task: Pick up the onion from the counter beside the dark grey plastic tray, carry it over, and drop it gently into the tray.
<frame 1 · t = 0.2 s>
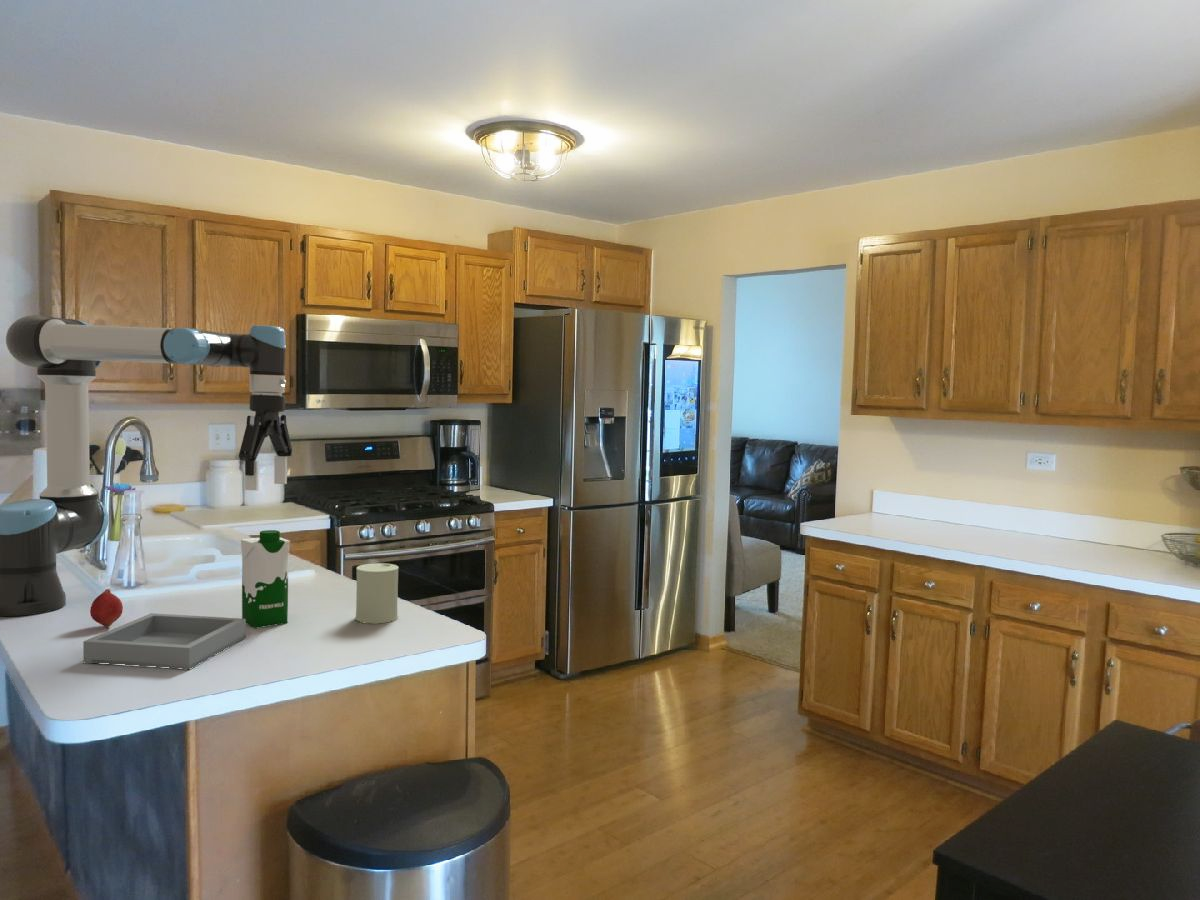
hand: (266, 487, 195), 28 cm above the countertop, tool pointing down, fingers open, 13 cm apart
milk carton: (264, 623, 183), on the countertop
onion: (106, 627, 176), on the countertop
can: (376, 619, 190), on the countertop
tray: (169, 650, 162), on the countertop
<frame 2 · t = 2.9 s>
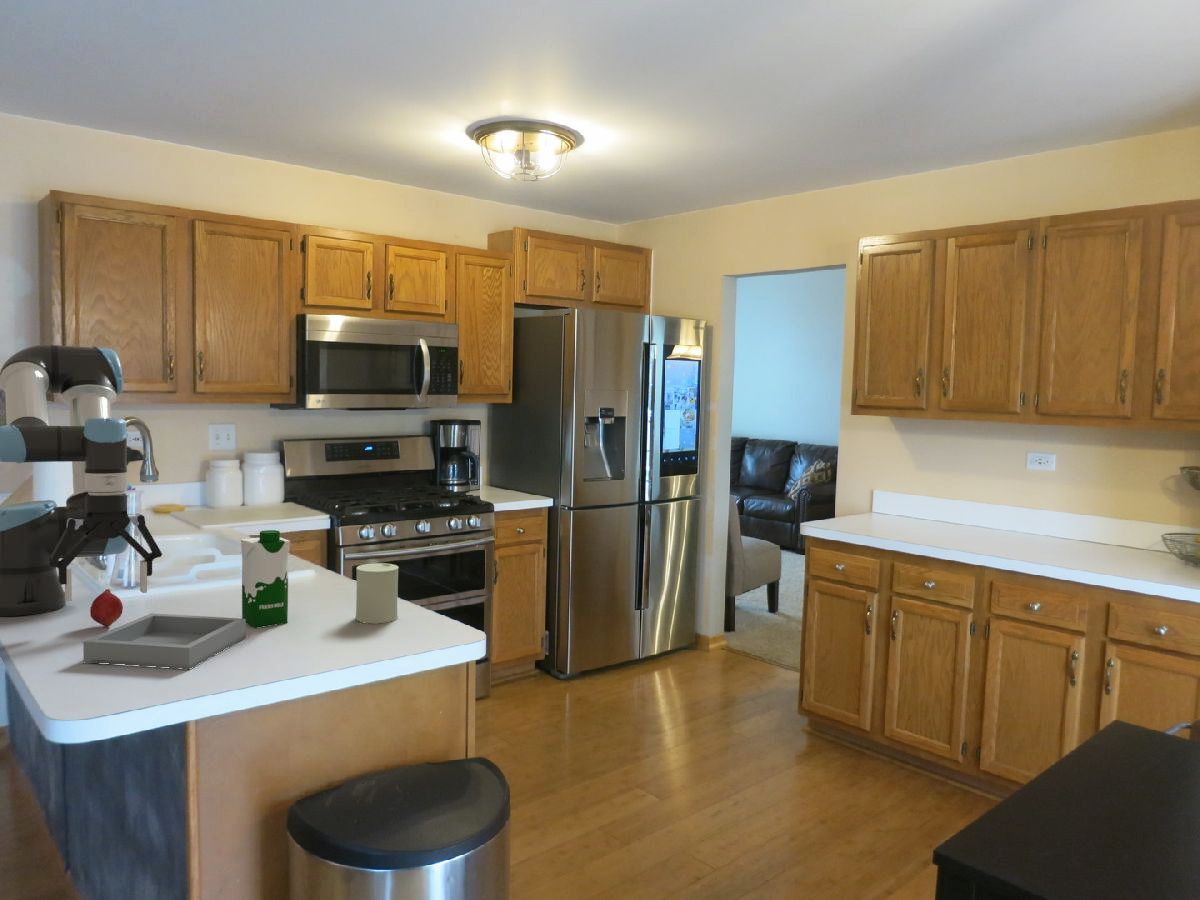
hand: (106, 595, 175), 7 cm above the countertop, tool pointing down, fingers open, 13 cm apart
nothing on the countertop moved.
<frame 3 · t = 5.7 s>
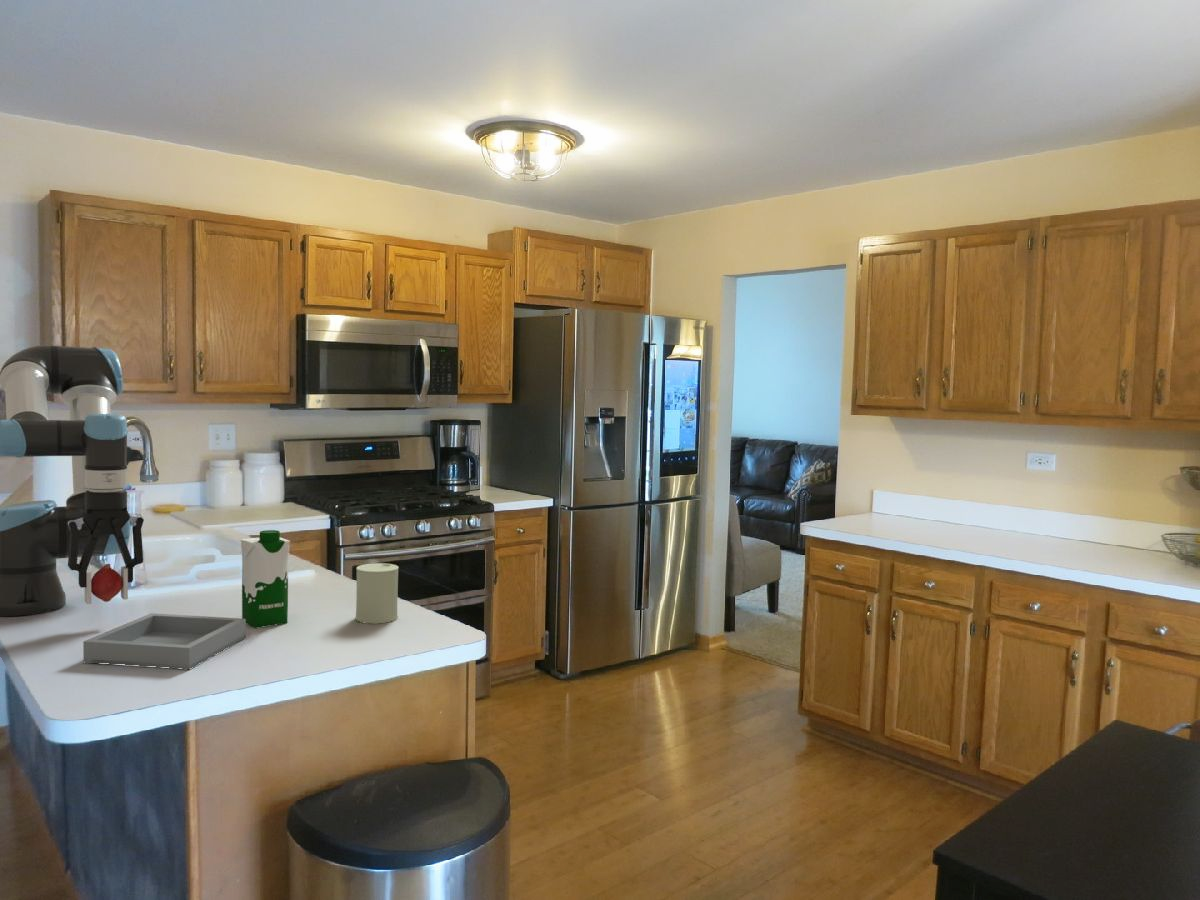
hand: (106, 599, 176), 6 cm above the countertop, tool pointing down, fingers closed on onion, 6 cm apart
onion: (106, 602, 176), point 5 cm above the countertop, touching gripper
everything else where it was.
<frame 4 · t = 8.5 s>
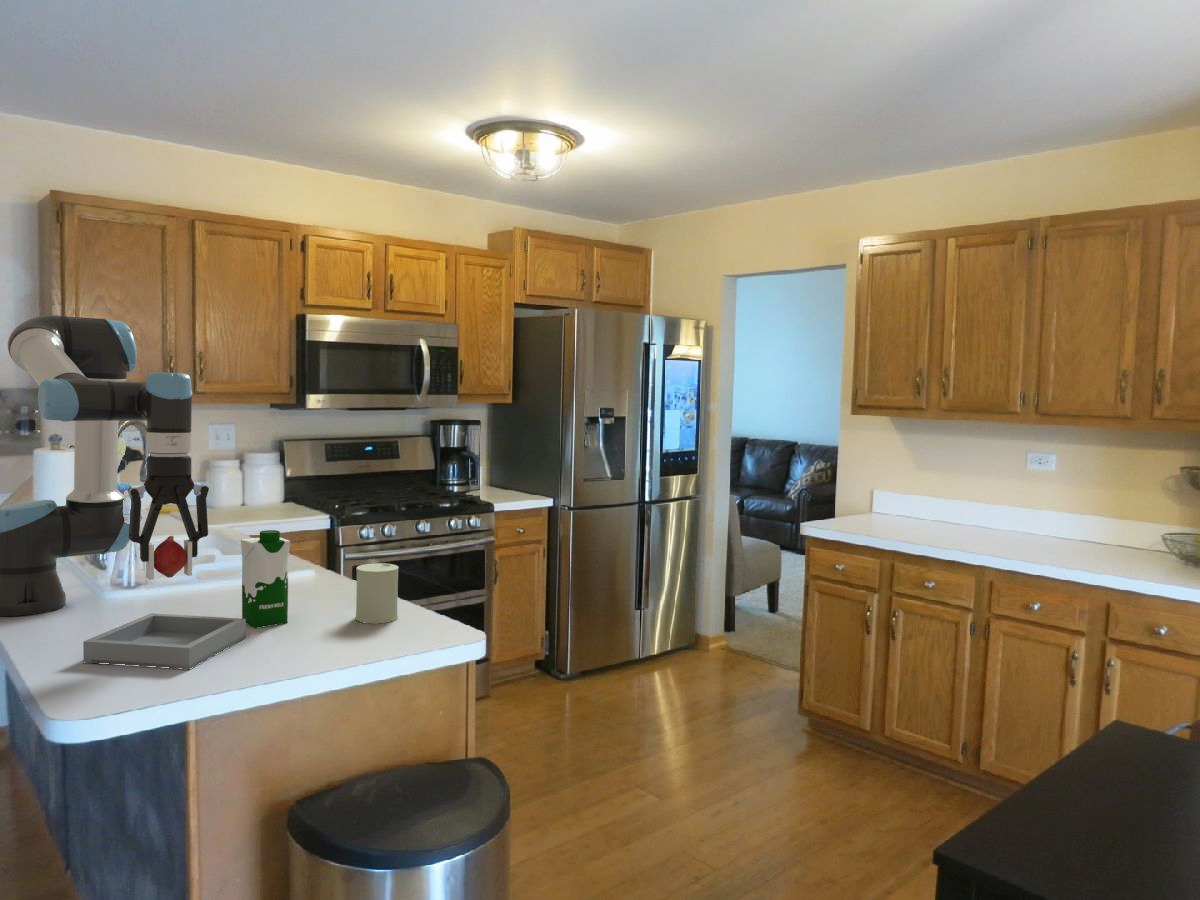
hand: (169, 576, 161), 14 cm above the countertop, tool pointing down, fingers closed on onion, 6 cm apart
onion: (169, 578, 161), point 14 cm above the countertop, touching gripper
everything else where it was.
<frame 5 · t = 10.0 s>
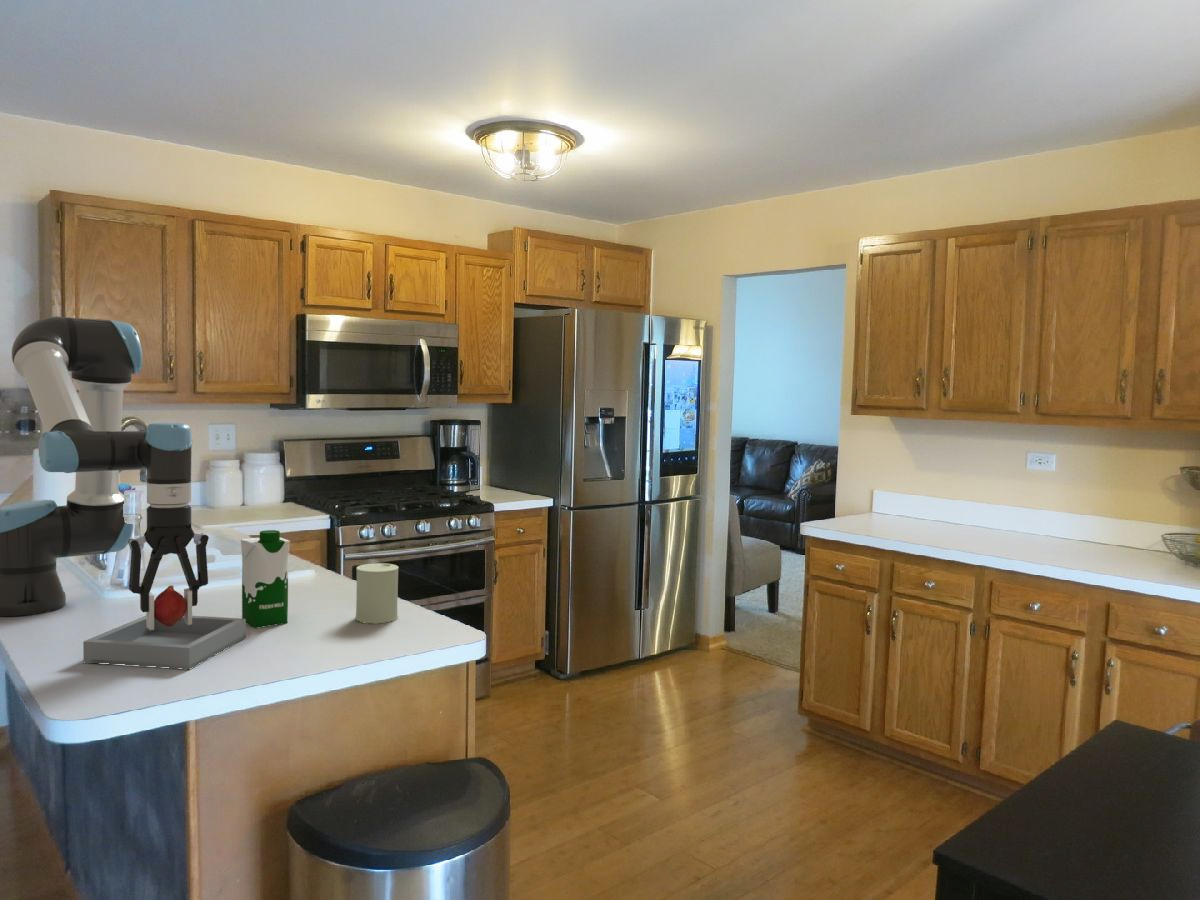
hand: (169, 625, 162), 5 cm above the countertop, tool pointing down, fingers closed on onion, 6 cm apart
onion: (169, 627, 162), point 4 cm above the countertop, touching gripper
everything else where it was.
when the fingers open (2 cm above the countertop, at t = 11.3 s): onion drops 1 cm, resting on tray.
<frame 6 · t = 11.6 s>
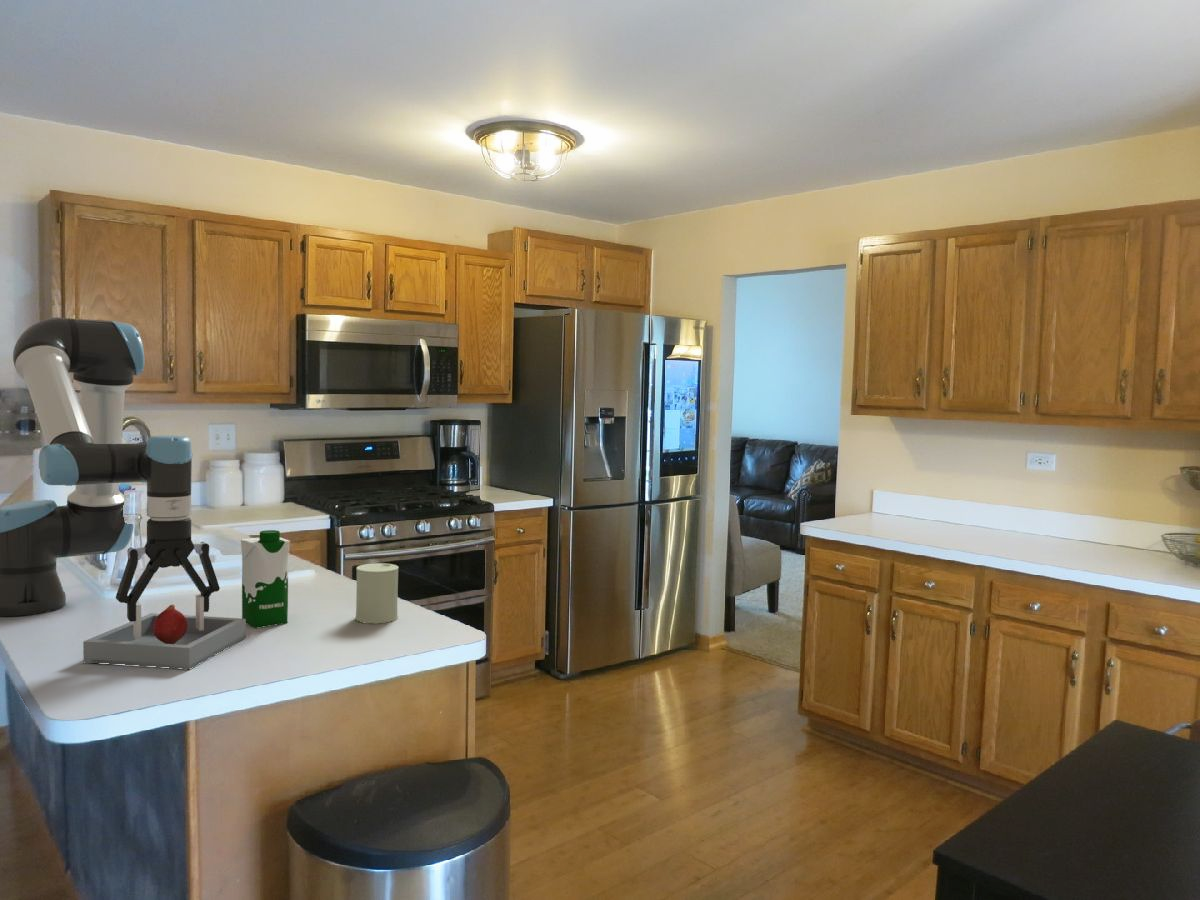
hand: (169, 633, 162), 3 cm above the countertop, tool pointing down, fingers open, 10 cm apart
onion: (170, 646, 162), point 1 cm above the countertop, touching tray
everything else where it was.
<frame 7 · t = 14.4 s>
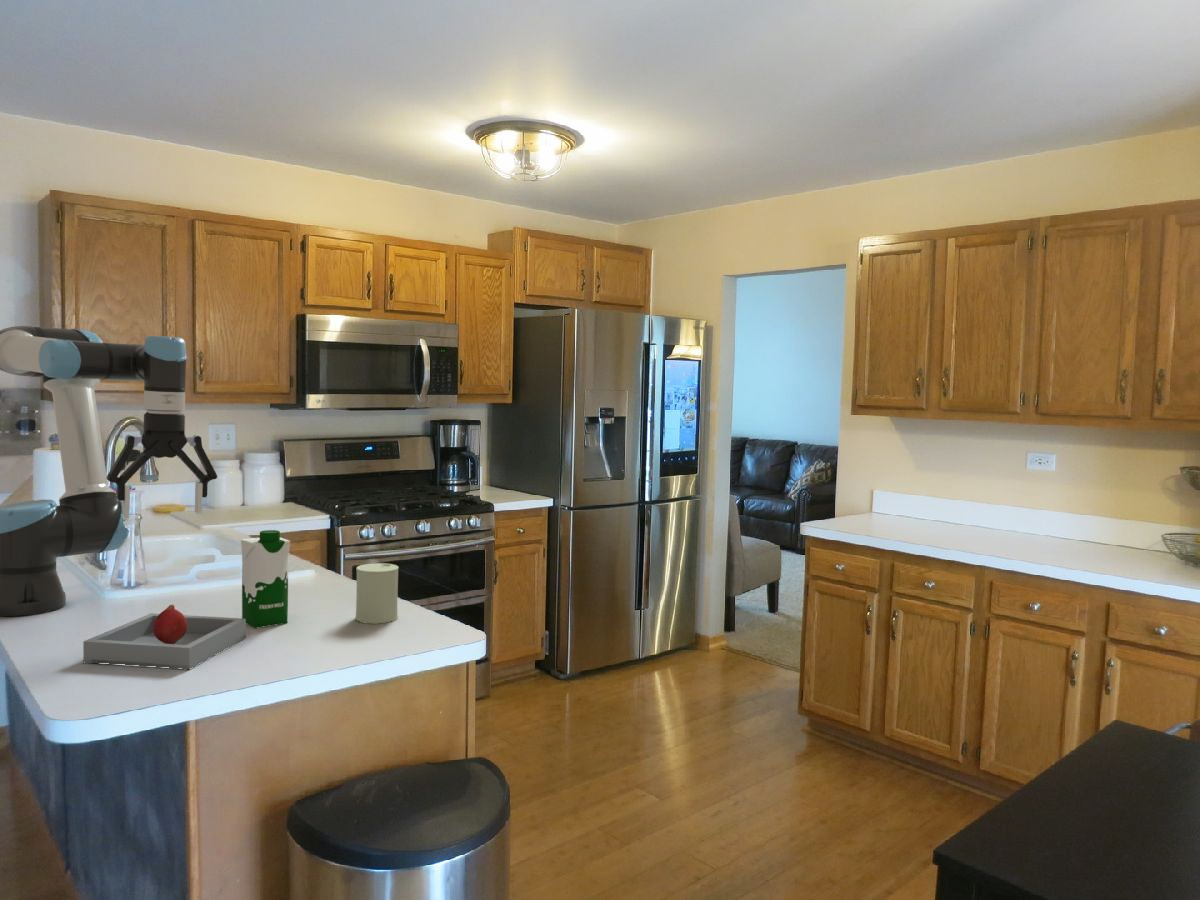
hand: (163, 514, 176), 24 cm above the countertop, tool pointing down, fingers open, 13 cm apart
nothing on the countertop moved.
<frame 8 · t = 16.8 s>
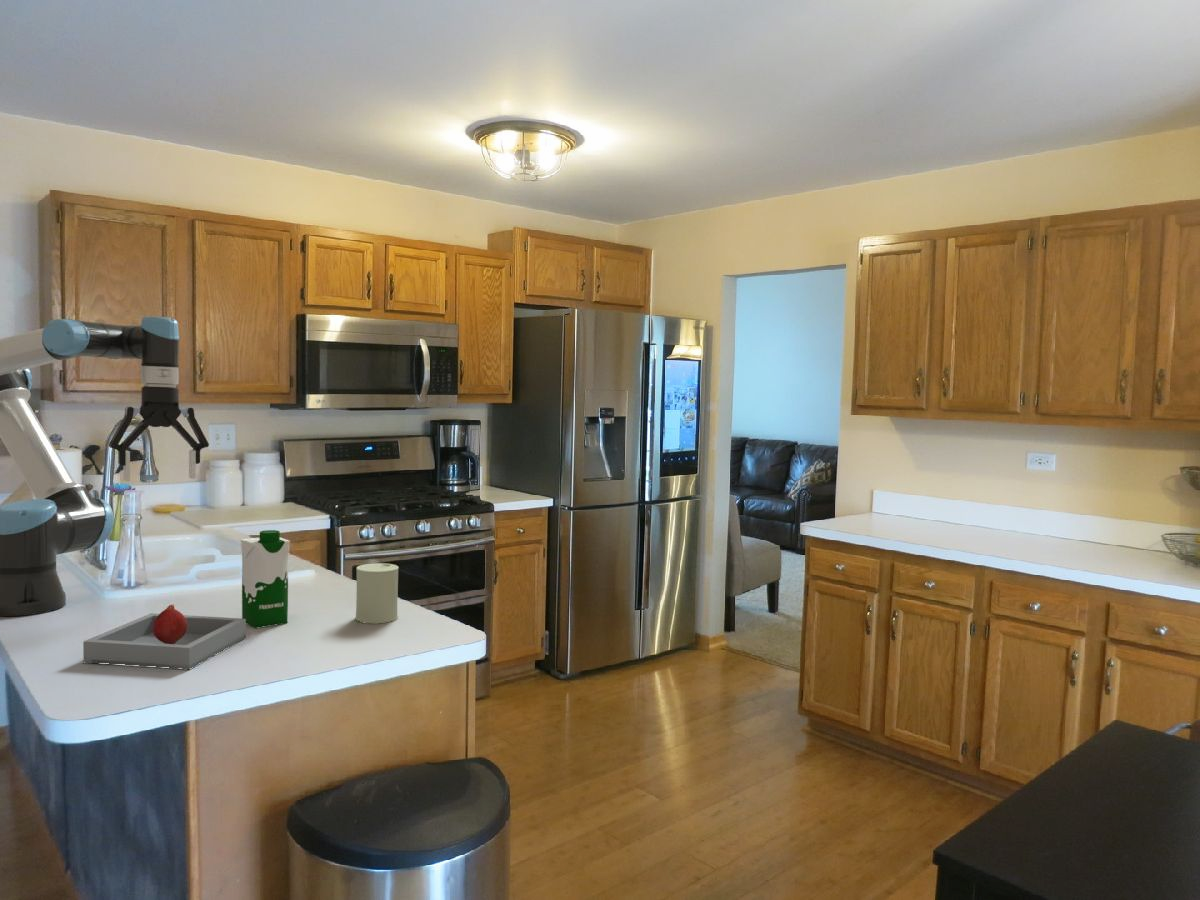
hand: (160, 479, 194), 29 cm above the countertop, tool pointing down, fingers open, 13 cm apart
nothing on the countertop moved.
at the end: onion inside the target area on the tray (0.1 cm from its centre), point 0.6 cm above the tray's base; the gripper is holding nothing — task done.
